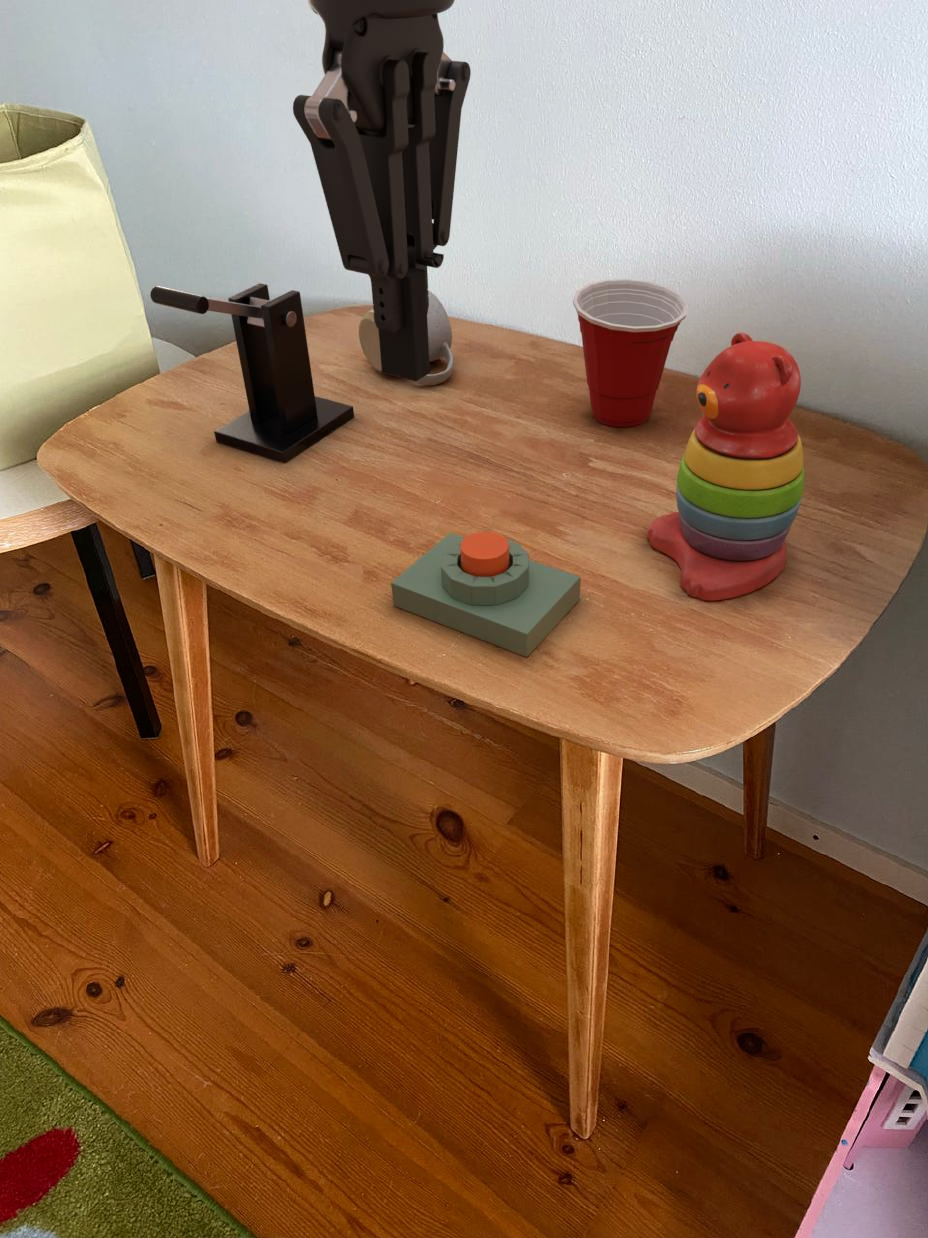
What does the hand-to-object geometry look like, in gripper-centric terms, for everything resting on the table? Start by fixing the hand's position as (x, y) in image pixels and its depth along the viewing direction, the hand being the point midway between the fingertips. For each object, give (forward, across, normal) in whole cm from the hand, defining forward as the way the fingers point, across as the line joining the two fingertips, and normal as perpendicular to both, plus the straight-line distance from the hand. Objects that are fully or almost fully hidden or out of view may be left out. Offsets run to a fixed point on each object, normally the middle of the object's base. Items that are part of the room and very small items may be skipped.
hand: (405, 372), depth 63 cm
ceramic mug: (+20, -36, -26) cm, 49 cm away
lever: (+7, -13, -30) cm, 33 cm away
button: (+16, -4, +3) cm, 17 cm away
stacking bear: (+20, -19, +16) cm, 32 cm away
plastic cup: (+20, -37, -2) cm, 42 cm away
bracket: (+20, -18, -30) cm, 40 cm away
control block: (+20, -4, +3) cm, 20 cm away
